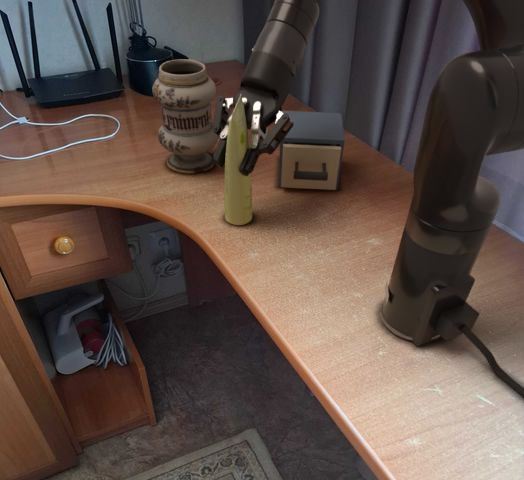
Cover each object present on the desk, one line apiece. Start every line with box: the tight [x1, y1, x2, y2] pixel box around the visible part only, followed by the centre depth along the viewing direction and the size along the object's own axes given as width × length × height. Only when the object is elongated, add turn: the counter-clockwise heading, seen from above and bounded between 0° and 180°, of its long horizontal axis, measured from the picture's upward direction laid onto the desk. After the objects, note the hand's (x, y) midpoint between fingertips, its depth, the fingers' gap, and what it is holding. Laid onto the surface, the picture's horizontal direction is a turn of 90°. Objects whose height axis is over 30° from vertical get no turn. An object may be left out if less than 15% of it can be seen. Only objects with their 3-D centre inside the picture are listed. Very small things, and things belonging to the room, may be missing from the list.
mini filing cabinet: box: [277, 110, 346, 191], centre depth 92 cm, size 13×12×10 cm
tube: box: [223, 94, 253, 226], centre depth 76 cm, size 6×5×20 cm
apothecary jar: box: [152, 58, 220, 175], centre depth 91 cm, size 12×12×18 cm
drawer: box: [280, 142, 341, 191], centre depth 89 cm, size 17×10×8 cm, turn 176°
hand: (230, 169), depth 75 cm, fingers closed on tube, 4 cm apart
